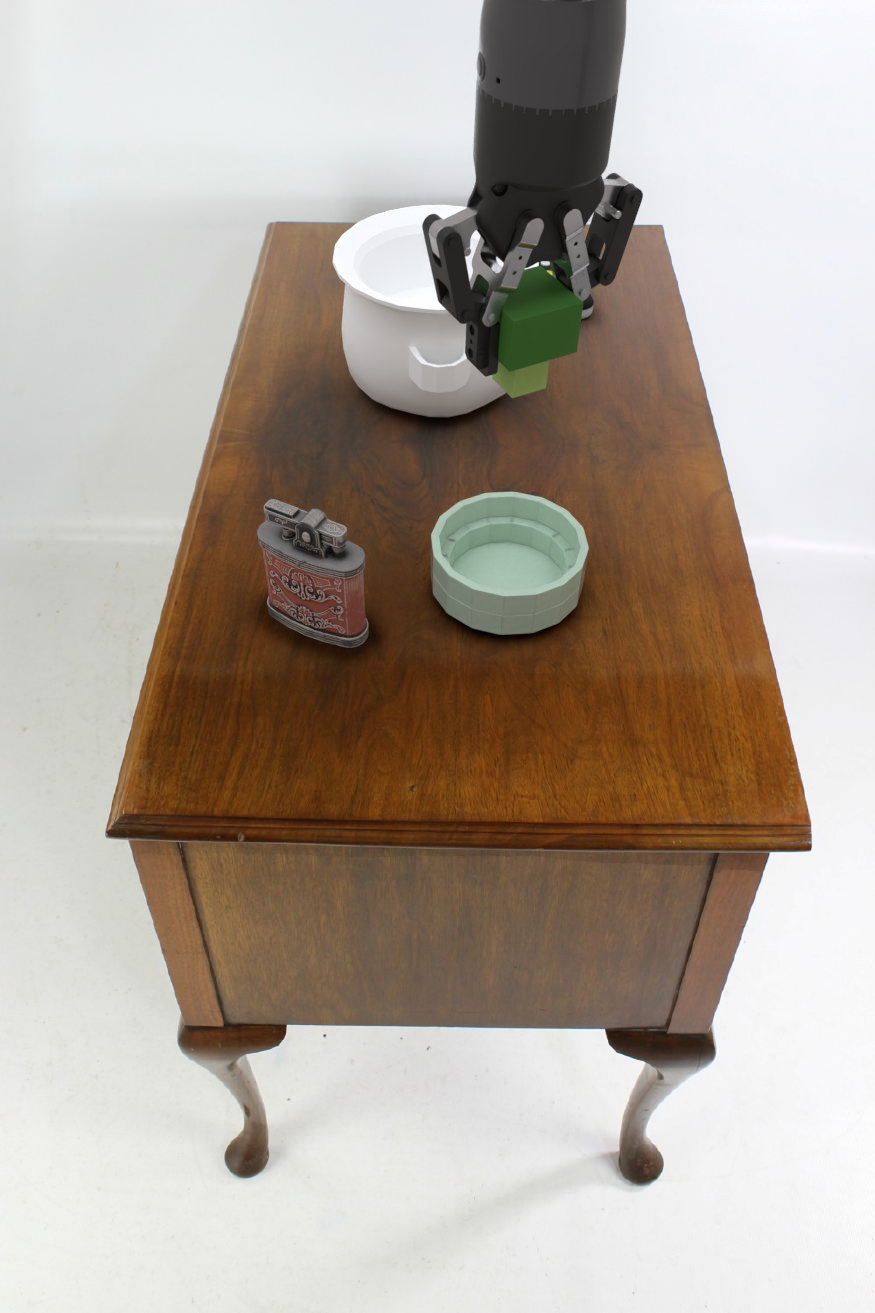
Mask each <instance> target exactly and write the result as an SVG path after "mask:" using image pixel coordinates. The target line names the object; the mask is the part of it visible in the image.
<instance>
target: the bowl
mask: <svg viewBox="0 0 875 1313" xmlns="http://www.w3.org/2000/svg"><path fill="white" fill-rule="evenodd" d="M589 550H590V547H589V543H588V538H587V536H586V533H585V528H584V526H583V525H582V524H581V523H580V522H579V521H578V520H577V519H576V518H575V517H574V515H572V514H571V512H570V511H569V510H568V509H566V508H564V507H563V506H560V505H558V504H557V503H554V502H553V501H551V500H549V499H547V498H546V497H542V496H537V495H533V494H528V493H522V492H518V491H497V492H484V493H481V494H477V495H474V496H470V497H467V498H465V499H462V500H460V501H458V502H456V503H455V504H454V505H453V506H451V507H449V509H447V510H446V511H445V512H443V513H441V515H440V516H439V517H438V519H437V521H436V523H435V525H434V528H433V530H432V532H431V534H430V573H429V574H430V582H431V589H432V590H431V591H432V594H433V597H434V598H435V599H436V601H437V602H438V603H439V605H440V606H441V608H442V609H443V610H444V611H445V613H446V614H447V615H448V616H451V617H452V618H454V619H456V620H457V621H459V622H461V623H462V624H464V625H466V626H467V627H469V628H471V629H473V630H477V631H481V632H486V633H490V634H494V635H502V636H505V635H525V634H534V633H538V632H539V631H542V630H544V629H547V628H550V627H552V626H555V625H557V624H559V623H561V621H563V620H564V619H565V618H566V617H567V616H568V615H570V614H571V612H572V611H573V610H575V609H576V607H577V606H578V603H579V600H580V597H581V594H582V591H583V588H584V581H585V575H586V570H587V563H588V558H589V557H588V556H589Z"/></svg>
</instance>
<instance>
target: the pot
mask: <svg viewBox="0 0 875 1313" xmlns="http://www.w3.org/2000/svg"><path fill="white" fill-rule="evenodd" d="M466 208H467V206H461V205H460V206H459V205H453V204H452V205H451V204H421V205H413V206H405V207H400V208H395V209H389V210H386V211H383V212H379V213H375V214H372V215H370V216H368V217H366V218H364V219H361V220H359V221H357V222H356V223H355V224H354V225H353V226H351V227H350V228H348V229H347V230H346V231H345V232H344V233H342V235H340V237H339V238H338V240H337V241H336V242H335V245H334V249H333V256H332V265H333V269H334V270H335V272H336V275H337V276H338V279H339V280H341V282H343V283H344V293H343V304H342V316H341V328H340V329H341V337H342V339H341V340H342V350H343V353H344V358H345V360H346V364H347V368H348V372H349V374H350V376H351V377H352V379H353V381H354V382H355V384H356V386H357V387H358V388H359V389H360V390H362V392H364V393H365V394H366V395H367V396H368V397H369V398H370V399H371V400H373V402H376V403H378V404H381V405H383V406H386V407H387V408H391V409H394V410H398V411H402V412H406V413H409V414H414V415H418V416H422V417H427V418H452V417H457V416H461V415H466V414H469V413H471V412H473V411H475V410H477V409H479V408H482V407H484V406H486V405H488V404H489V403H491V402H494V401H495V400H497V399H498V398H501V397H502V396H504V395H505V394H507V392H506V391H505V390H504V389H503V388H502V387H501V386H500V385H499V384H498V383H497V382H496V381H495V380H494V379H493V378H492V375H490V376H487V377H485V376H484V375H483V374H482V373H481V372H480V371H479V370H478V369H477V368H476V367H475V366H474V365H473V364H472V363H471V362H470V361H469V360H468V359H467V357H466V354H465V345H466V344H465V341H466V324H461V323H459V322H458V321H457V320H456V319H455V318H454V317H453V316H452V315H451V314H450V313H449V312H448V311H447V310H446V309H445V308H444V307H443V306H442V305H441V304H440V303H439V302H438V298H437V294H436V289H435V285H434V280H433V275H432V271H431V266H430V261H429V257H428V252H427V247H426V243H425V238H424V233H423V228H422V225H423V222H424V220H425V218H426V217H427V216H428V215H430V214H437V215H438V216H440V217H441V218H442V219H445V218H447V217H449V216H452V215H454V214H456V213H458V212H460V211H462V210H464V209H466ZM479 239H480V234H479V233H478V231H477V230H476V231H475V232H474V233H473V234H472V236H471V239H470V249H471V253H470V255H469V256H465V259H466V264H467V270H468V275H469V281H470V279H471V277H472V274H473V268H472V259H473V256H474V253H475V250H476V248H477V245H478V242H479ZM496 260H497V263H498V264H499V265H500V266H501V267H503V264H504V263H503V262H502V261H501V260H500V259H499V258H498V257H497V256H496ZM536 266H539V262H538V263H536V264H534V265H532V266H530V267H528V268H525V269H529V268H532V267H536ZM525 269H524V270H525Z"/></svg>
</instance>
